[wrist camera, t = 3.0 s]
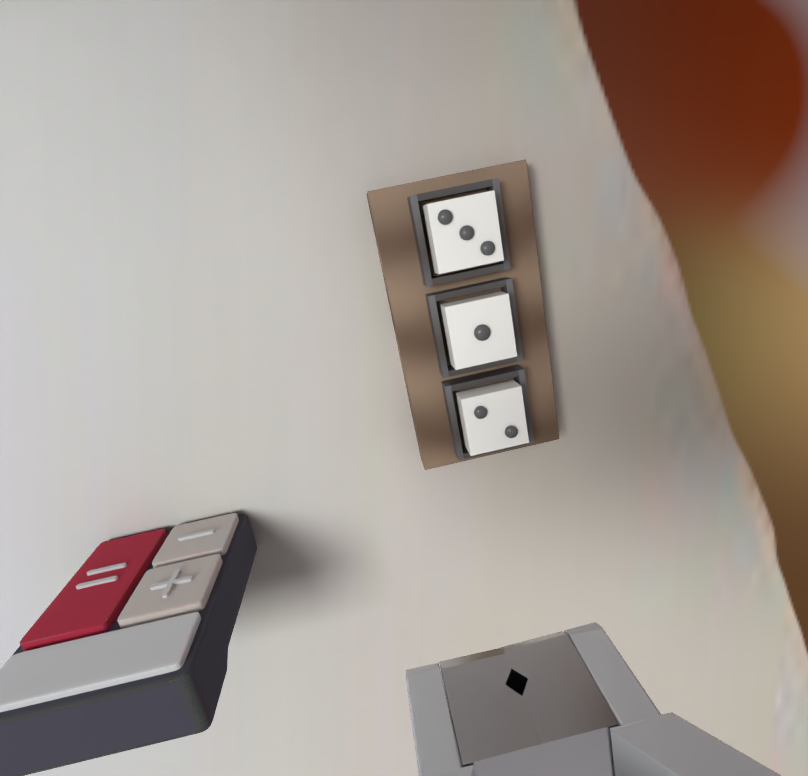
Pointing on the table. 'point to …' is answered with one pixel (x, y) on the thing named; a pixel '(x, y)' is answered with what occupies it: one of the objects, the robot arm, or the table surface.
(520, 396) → the key two
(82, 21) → the table surface
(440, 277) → the key panel
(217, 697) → the calculator
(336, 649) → the table surface
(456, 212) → the key three
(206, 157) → the table surface
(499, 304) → the key one
